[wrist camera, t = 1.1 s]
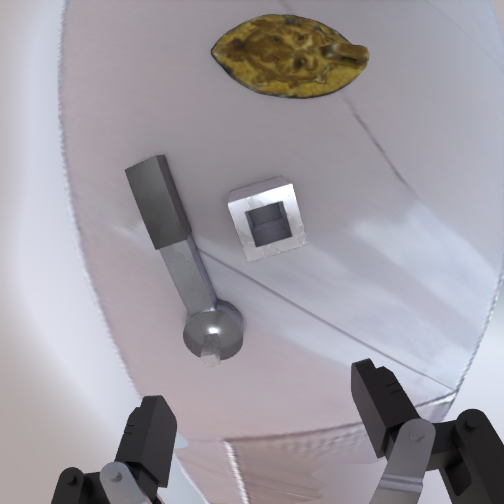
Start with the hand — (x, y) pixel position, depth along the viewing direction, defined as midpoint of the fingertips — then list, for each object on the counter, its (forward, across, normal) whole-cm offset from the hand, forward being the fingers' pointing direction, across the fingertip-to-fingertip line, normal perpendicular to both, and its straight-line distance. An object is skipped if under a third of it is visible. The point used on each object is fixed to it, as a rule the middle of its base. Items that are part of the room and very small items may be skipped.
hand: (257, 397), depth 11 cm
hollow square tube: (+19, -2, -4) cm, 20 cm away
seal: (+19, -8, -18) cm, 28 cm away
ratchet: (+19, +6, 0) cm, 20 cm away
